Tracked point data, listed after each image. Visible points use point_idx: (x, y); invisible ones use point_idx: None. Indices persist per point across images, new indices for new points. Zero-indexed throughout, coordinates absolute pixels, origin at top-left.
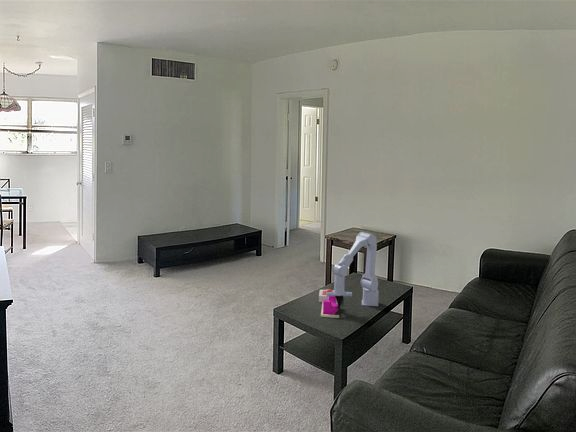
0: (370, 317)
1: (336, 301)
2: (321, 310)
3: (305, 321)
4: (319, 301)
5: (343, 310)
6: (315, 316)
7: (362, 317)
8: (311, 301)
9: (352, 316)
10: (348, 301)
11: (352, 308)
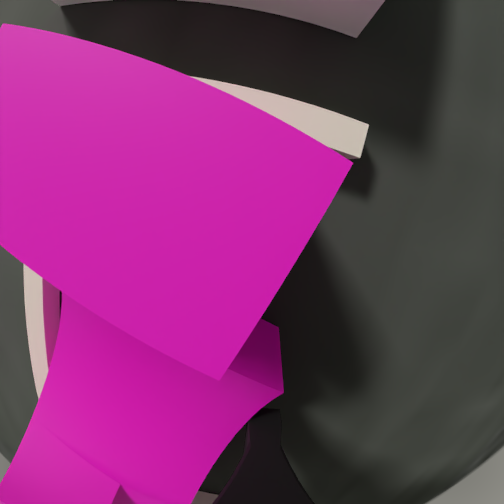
0: (467, 475)
1: (334, 16)
2: (37, 389)
3: (3, 452)
4: (61, 2)
5: (343, 371)
6: (26, 425)
7: (420, 488)
8: (4, 10)
9: (357, 488)
10: (501, 39)
11: (482, 306)
